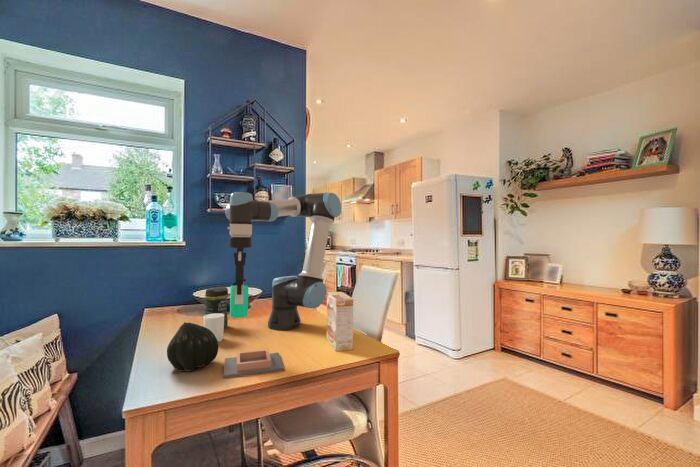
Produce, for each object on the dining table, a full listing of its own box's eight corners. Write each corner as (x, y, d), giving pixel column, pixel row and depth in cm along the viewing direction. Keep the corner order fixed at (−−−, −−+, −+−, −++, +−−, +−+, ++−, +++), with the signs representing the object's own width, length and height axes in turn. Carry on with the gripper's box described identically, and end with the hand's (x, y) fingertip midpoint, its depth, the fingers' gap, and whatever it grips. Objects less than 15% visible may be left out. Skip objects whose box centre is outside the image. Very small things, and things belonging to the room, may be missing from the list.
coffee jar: (213, 332, 143) (213, 289, 143) (201, 329, 147) (201, 288, 147) (231, 326, 152) (231, 286, 152) (219, 324, 156) (219, 285, 156)
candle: (228, 318, 112) (229, 283, 112) (230, 314, 118) (231, 280, 118) (247, 317, 114) (248, 282, 114) (248, 313, 120) (248, 280, 120)
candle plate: (278, 354, 118) (278, 346, 118) (283, 370, 105) (283, 361, 105) (224, 360, 112) (225, 351, 112) (223, 378, 99) (223, 368, 99)
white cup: (216, 344, 128) (216, 318, 128) (198, 342, 130) (199, 317, 129) (228, 338, 136) (228, 313, 136) (211, 336, 137) (211, 312, 137)
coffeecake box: (325, 339, 136) (326, 292, 136) (342, 337, 138) (342, 291, 138) (335, 351, 122) (335, 299, 122) (353, 349, 124) (354, 298, 124)
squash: (229, 351, 106) (213, 311, 112) (180, 366, 95) (166, 321, 101) (214, 370, 113) (201, 332, 120) (168, 387, 102) (155, 344, 109)
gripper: (230, 236, 124) (229, 297, 124) (227, 236, 106) (226, 308, 106) (251, 236, 126) (250, 296, 126) (251, 236, 108) (250, 307, 108)
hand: (239, 301), depth 116 cm, fingers closed on candle, 6 cm apart
